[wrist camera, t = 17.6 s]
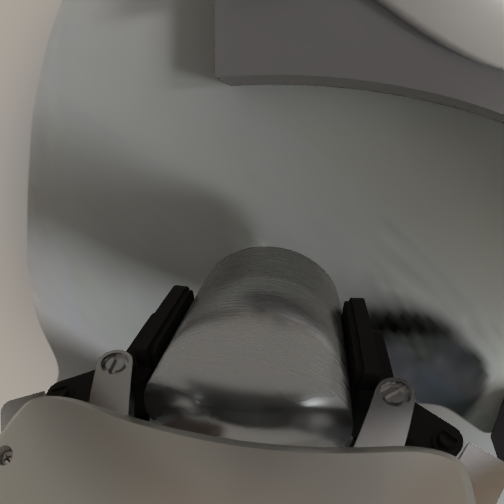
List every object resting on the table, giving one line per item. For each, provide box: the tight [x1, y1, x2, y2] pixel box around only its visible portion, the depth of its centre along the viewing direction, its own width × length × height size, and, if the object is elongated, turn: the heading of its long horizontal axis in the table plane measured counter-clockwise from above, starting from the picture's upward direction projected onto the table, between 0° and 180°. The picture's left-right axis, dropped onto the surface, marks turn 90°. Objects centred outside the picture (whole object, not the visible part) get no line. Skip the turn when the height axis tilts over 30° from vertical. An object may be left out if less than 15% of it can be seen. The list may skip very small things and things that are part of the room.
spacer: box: [144, 247, 353, 447], centre depth 10 cm, size 6×6×6 cm
